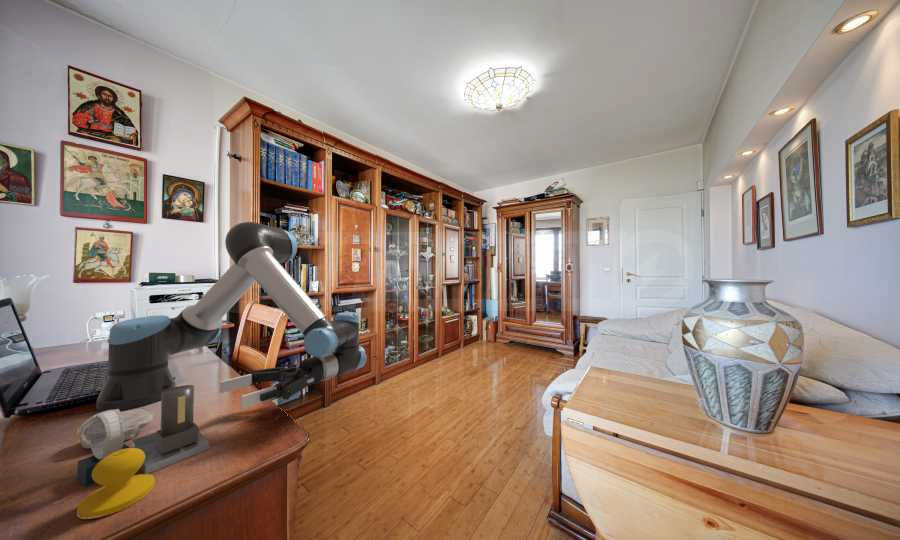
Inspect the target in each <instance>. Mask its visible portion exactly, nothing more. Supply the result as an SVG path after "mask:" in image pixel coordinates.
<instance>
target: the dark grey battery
mask: <svg viewBox="0 0 900 540" xmlns="http://www.w3.org/2000/svg"><path fill="white" fill-rule="evenodd" d="M194 405H195V385H193V384H191V385H190V384H188V385H187V384H186V385H179V386H176V387H174V388H171V389H168V390H165V391H163V392H162V393H161V400H160V407H161V408H160V429H158V430H156V431H155V432H156V446H157V448H158V449H159V451H160V452H161V454H165V453H167V452H170V451H173V450H175V449H178V448H180V447H183V446H186V445H188V444H191V443H194V442H196V441H198V430H199V426H198V425H197V424H196V423H195V422H194V412H195V411H194V410H195V409H194V408H195V406H194Z"/></svg>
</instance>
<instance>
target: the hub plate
mask: <svg viewBox="0 0 900 540" xmlns="http://www.w3.org/2000/svg"><path fill="white" fill-rule="evenodd" d="M131 448H138V449H140V450H142V451H143V452H144V453H145V460H144V462H143V464H142V466H141V467H140V468H141V469H142V471H143V473H144V474H149V475H150V474H151V473H154V472H156V471H158V470H161V469H164V468H165V467H168V466H170V465H173V464H176V463H178V462H180V461H183V460H185V459H188V458H190V457H193V456H194V455H195V456H196V455H197V454H200V453H203V452H205V451H207V450H210V441H209V440H208V439H207V438H206V437H205V436H204V434H203V433H201V431H200V430H199V429H198V441H196V442H194V443H191V444H188V445H186V446H183V447H180V448H178V449H175V450H173V451H170V452H167V453H165V454H161V452H160V451H159V449H158V448H157V446H156V431H155V432H152V433H150V434H147V435H143V436H140V437H137V438H133V439H131Z"/></svg>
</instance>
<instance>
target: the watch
mask: <svg viewBox="0 0 900 540" xmlns="http://www.w3.org/2000/svg"><path fill="white" fill-rule="evenodd" d="M121 412H122V411H121V410H119V409H116V410H108V411H100V412H98V413H96V414H94V415H92V416H91V417H89V418H87V419H85V421H84V422H83V423H82V424H81V426H80V427H79V428H77V431H76V433H77V434H82V433H83V435H84V436H85V438H86V440H87V441H90V445H91V448H90V449H91V452H92V454H93V455H90V456H87V457H86V458H83V459H81V460H78V461H77V470H76V472H77V473H76V479H77V481H79V482H80V483H81V484H82V485H83V486H84V487H88V486H91V485H93V484H96V482H95V481H94V480H93V479H92V471H93V469H94V468H95V466H96V465H97V464H98V463H99V462H100V461H101V460H102V459H103V458H105V457H106V456H108V455H110V454H112V453H114V452H116V451H119V450H122V449H127V448H131V447H130V446H129V445H127V444H125V443H124V442H125V441H124V438H125V435H124V425H123V419H122V418H123V417H122V413H121ZM104 440H105V441H104ZM101 441H102V442H101Z"/></svg>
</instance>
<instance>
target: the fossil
mask: <svg viewBox="0 0 900 540" xmlns="http://www.w3.org/2000/svg"><path fill="white" fill-rule="evenodd" d="M121 413H122V417H123V418H122V419H123V425H124V435H125V438H124V442H125V441H128V440H130V439H131V440H133V439H134V438H135V437H136V436H137V435H138V433H139V431H140V430H142V429H143V428H145V427H147V426H149V425H150V424H151V422H152V421H153V418H154V415H155V414H154V412H152V411H151V412H149V411H147V410H145V409H143V408H140V409H139V408H138V409H137V408H136V409H131V410H130V409H129V410H126V411H121ZM104 441H105V440H104ZM79 442H80V445H81V446H82V448H85V449H92V448H91V445H90V441H87V440H86V438H85V436H84V435H83V433H82V432H81V433H80V436H79ZM101 442H102V441H101Z"/></svg>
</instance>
